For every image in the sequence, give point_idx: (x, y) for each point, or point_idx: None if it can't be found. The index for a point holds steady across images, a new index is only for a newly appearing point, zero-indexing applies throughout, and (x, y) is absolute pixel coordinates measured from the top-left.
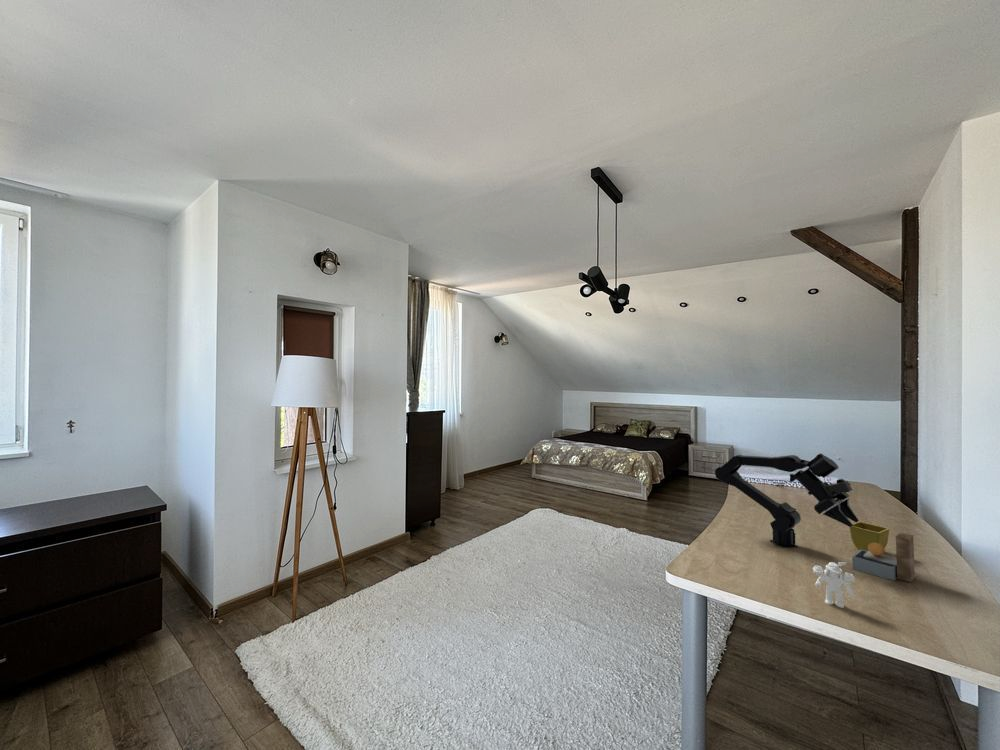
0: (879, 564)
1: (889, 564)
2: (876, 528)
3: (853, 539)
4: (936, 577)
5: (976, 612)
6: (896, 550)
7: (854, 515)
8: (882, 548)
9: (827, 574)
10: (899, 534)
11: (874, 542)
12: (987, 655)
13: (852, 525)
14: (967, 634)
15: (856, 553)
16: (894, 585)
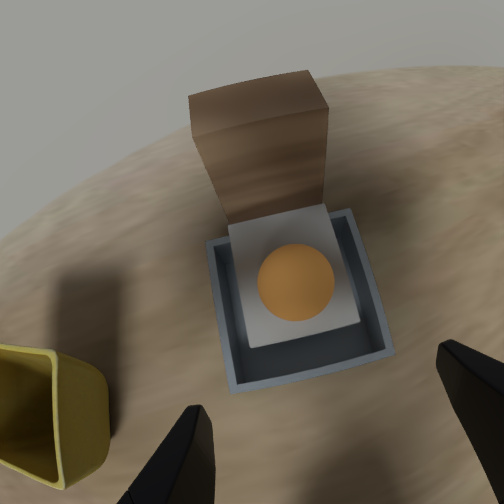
0: (365, 253)
1: (225, 288)
2: None
3: (100, 461)
4: (165, 198)
5: (345, 87)
6: (324, 165)
7: (188, 449)
8: (299, 244)
9: None
10: (254, 116)
11: (89, 379)
12: (484, 68)
13: (445, 341)
14: (460, 82)
15: (323, 372)
16: (386, 216)
